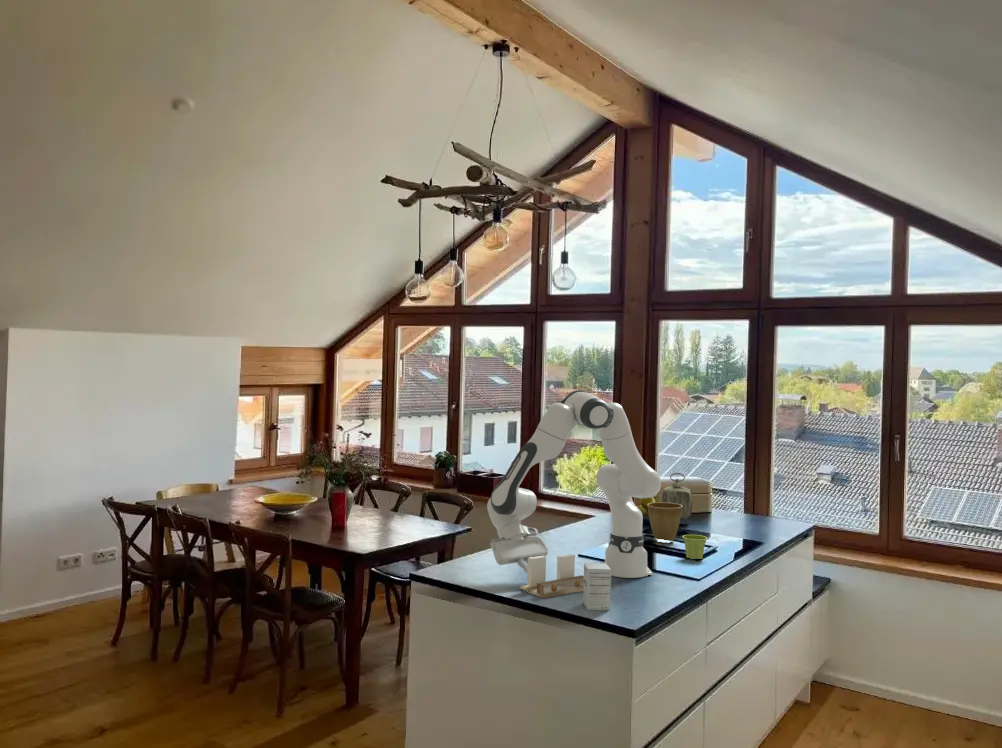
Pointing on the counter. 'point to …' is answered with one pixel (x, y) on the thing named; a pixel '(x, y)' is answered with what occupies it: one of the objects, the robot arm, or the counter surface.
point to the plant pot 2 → (694, 546)
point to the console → (556, 587)
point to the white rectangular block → (536, 570)
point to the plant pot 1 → (664, 519)
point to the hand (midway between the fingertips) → (530, 571)
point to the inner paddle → (565, 566)
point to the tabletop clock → (679, 497)
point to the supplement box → (597, 586)
